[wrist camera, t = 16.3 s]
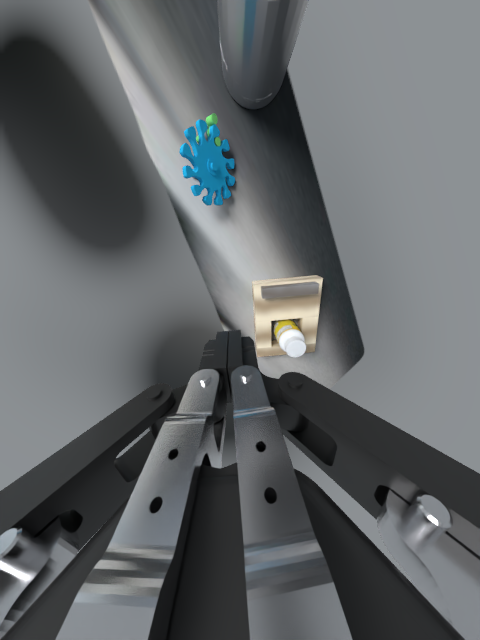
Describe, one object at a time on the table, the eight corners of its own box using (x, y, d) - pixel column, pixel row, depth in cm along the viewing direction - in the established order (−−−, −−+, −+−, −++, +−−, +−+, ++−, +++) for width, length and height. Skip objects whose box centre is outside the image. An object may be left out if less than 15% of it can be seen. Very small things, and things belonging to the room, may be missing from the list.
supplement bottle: (297, 331, 45) (313, 354, 36) (276, 339, 46) (287, 364, 37) (290, 313, 43) (305, 333, 34) (269, 322, 43) (278, 344, 34)
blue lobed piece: (232, 214, 32) (182, 190, 25) (211, 215, 36) (162, 194, 28) (243, 138, 29) (190, 84, 22) (219, 148, 33) (166, 104, 25)
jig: (252, 281, 39) (254, 287, 34) (316, 275, 39) (327, 280, 34) (255, 349, 47) (258, 362, 42) (309, 345, 47) (318, 356, 42)
